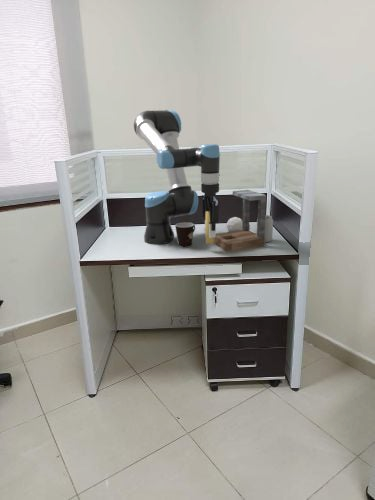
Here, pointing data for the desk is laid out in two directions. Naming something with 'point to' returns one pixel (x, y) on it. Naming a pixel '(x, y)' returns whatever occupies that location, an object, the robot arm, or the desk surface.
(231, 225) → the white rounded lump
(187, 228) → the coffee mug
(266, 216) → the can
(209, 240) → the peg
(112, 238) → the desk surface
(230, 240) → the socket board
